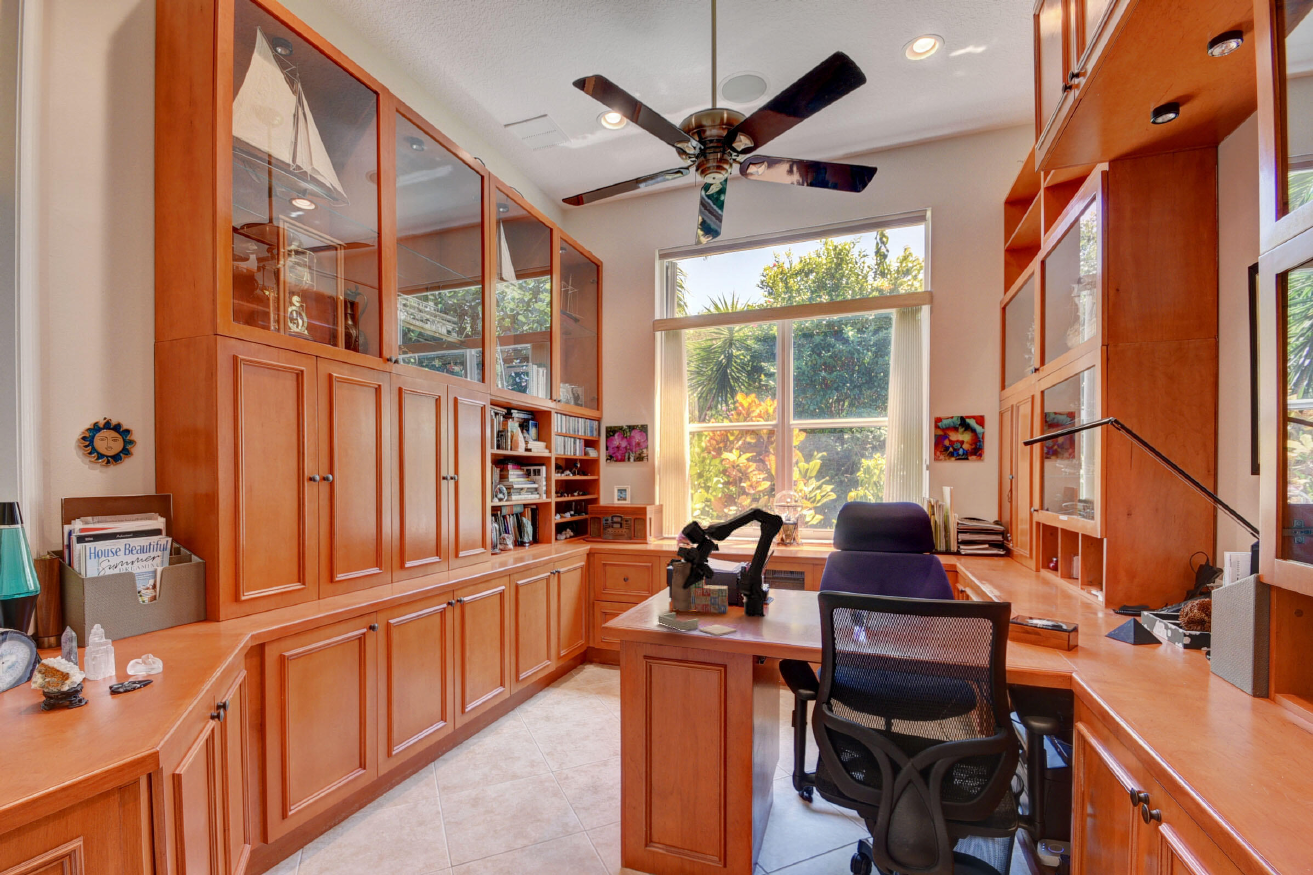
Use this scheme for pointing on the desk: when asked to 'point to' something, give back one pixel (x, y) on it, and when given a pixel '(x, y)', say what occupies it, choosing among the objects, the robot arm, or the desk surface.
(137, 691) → the desk surface
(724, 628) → the grey mat
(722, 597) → the stack of blocks
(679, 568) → the walnut block
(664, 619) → the grey u-shaped bracket
